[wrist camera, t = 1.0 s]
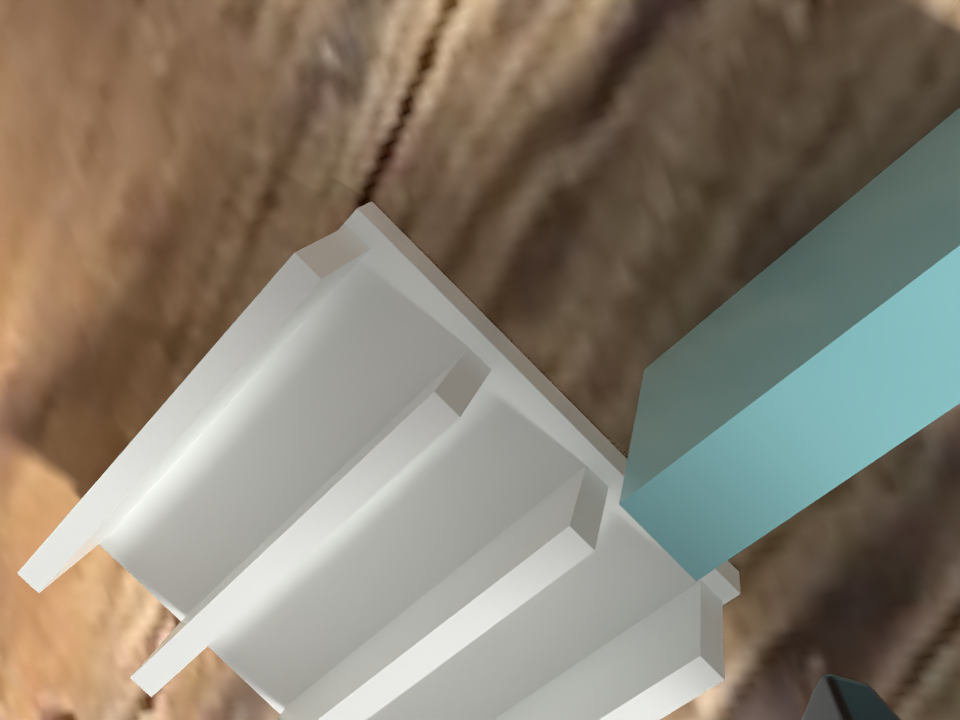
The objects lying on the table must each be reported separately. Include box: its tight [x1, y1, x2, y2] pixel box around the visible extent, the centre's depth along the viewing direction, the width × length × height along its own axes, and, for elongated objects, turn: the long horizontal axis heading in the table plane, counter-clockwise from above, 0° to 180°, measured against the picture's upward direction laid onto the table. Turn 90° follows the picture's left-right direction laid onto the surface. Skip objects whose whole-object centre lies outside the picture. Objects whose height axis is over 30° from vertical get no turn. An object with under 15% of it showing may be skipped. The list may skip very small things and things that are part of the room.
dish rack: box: [17, 201, 740, 720], centre depth 23 cm, size 14×14×4 cm
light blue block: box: [619, 107, 960, 581], centre depth 17 cm, size 2×10×7 cm, turn 137°
